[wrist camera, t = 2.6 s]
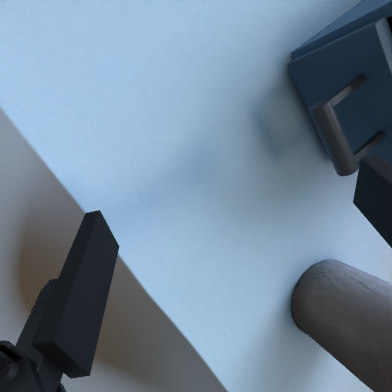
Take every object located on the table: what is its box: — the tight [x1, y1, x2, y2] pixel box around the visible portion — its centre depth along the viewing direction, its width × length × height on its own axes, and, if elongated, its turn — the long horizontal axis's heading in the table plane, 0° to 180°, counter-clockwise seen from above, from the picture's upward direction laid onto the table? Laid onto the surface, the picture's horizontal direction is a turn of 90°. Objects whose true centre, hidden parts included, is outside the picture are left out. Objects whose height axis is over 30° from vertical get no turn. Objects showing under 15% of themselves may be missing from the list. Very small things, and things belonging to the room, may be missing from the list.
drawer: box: [288, 16, 392, 176], centre depth 25 cm, size 19×12×9 cm, turn 124°
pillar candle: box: [291, 260, 392, 392], centre depth 27 cm, size 10×10×15 cm
